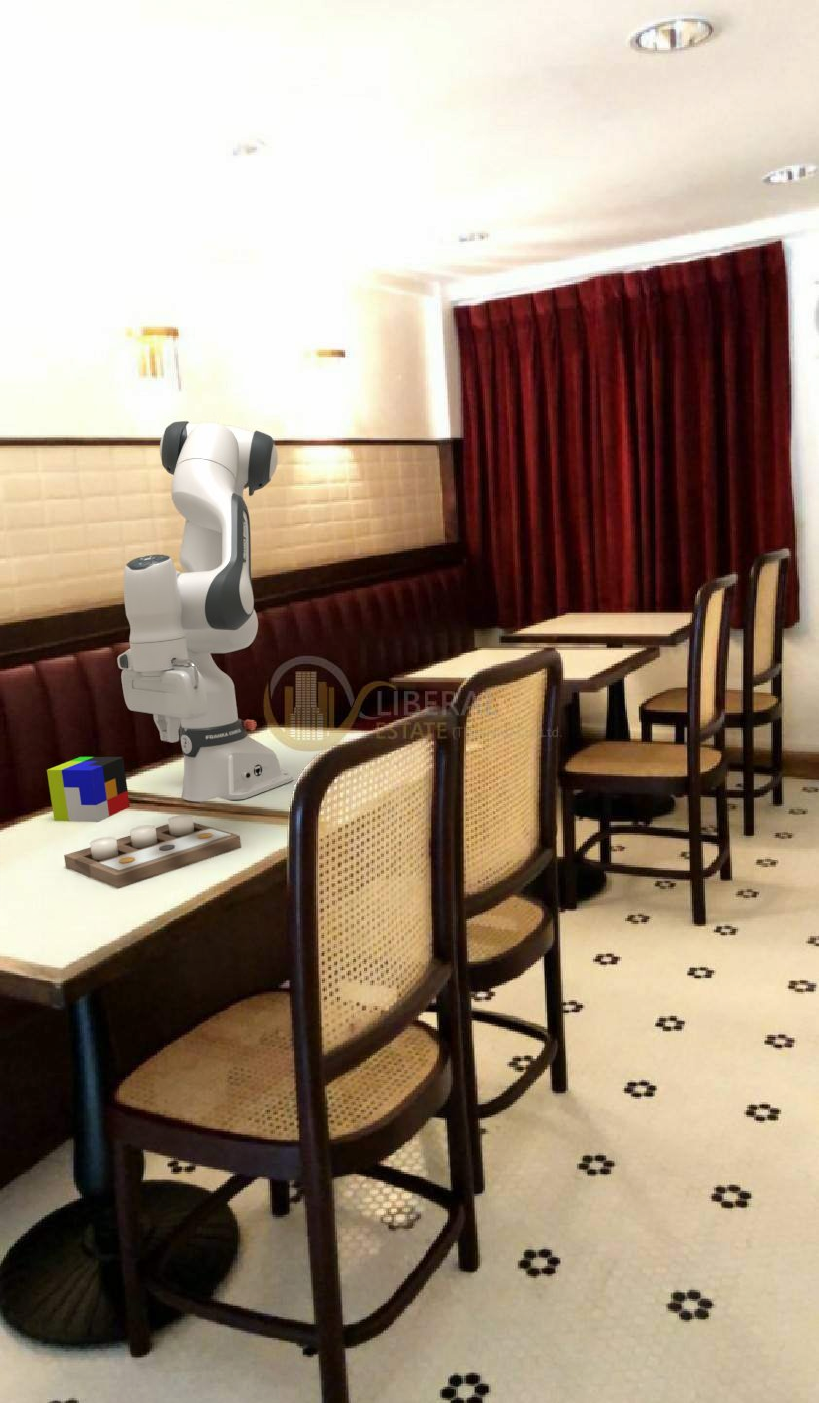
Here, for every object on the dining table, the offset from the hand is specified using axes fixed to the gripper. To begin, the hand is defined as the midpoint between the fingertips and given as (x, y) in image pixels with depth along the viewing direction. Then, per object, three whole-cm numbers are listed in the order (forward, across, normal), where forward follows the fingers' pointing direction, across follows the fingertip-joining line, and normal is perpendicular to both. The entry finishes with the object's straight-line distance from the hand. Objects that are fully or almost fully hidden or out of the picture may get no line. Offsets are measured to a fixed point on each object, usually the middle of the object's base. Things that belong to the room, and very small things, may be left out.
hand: (170, 741), depth 178 cm
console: (+18, -2, +7) cm, 20 cm away
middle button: (+16, 0, +7) cm, 17 cm away
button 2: (+16, 0, 0) cm, 16 cm away
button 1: (+16, 0, +14) cm, 21 cm away
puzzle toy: (+19, +36, -2) cm, 41 cm away
